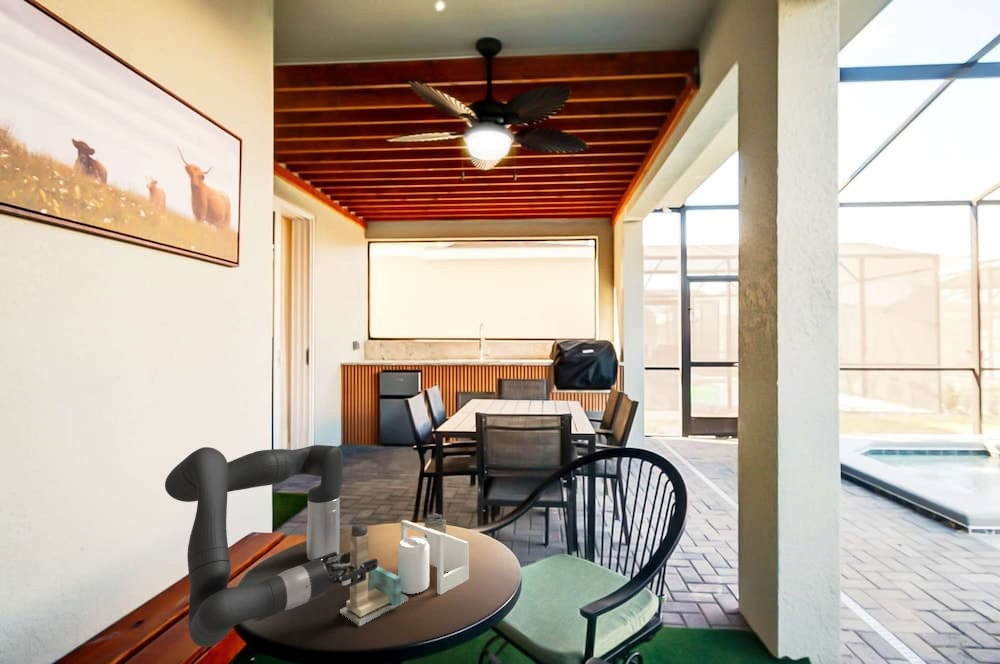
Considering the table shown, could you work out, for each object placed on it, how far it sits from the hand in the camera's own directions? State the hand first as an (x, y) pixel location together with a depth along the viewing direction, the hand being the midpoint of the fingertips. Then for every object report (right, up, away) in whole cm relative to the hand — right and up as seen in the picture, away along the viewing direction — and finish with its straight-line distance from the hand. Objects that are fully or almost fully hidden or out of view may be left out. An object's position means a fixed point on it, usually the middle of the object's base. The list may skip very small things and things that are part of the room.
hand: (366, 558), depth 112 cm
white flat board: (+2, -13, +1) cm, 13 cm away
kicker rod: (+1, -11, 0) cm, 11 cm away
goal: (+14, -13, +16) cm, 25 cm away
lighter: (+12, -14, +36) cm, 40 cm away
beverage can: (+9, -13, +10) cm, 19 cm away
